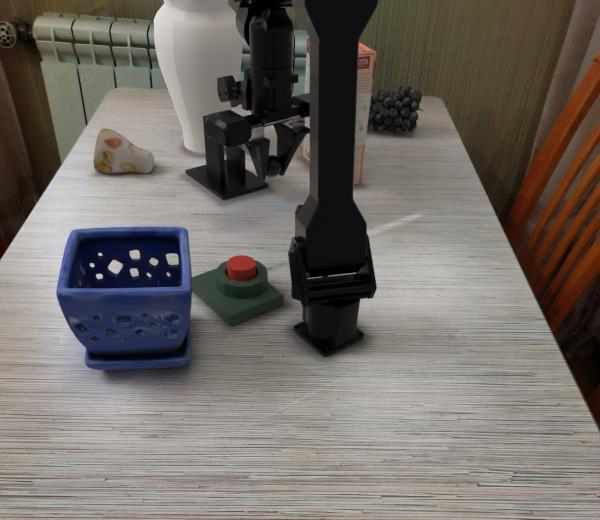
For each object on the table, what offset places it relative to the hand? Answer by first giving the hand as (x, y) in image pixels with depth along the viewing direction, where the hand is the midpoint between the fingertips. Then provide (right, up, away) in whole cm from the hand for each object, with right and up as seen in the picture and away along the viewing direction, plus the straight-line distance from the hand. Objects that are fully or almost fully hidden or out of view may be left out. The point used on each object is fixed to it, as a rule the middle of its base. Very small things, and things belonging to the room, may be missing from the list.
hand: (271, 177), depth 91 cm
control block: (-4, -20, -12) cm, 24 cm away
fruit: (+21, +21, +32) cm, 44 cm away
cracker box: (+10, +7, +16) cm, 20 cm away
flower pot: (-14, -27, -20) cm, 37 cm away
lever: (-4, +4, +3) cm, 7 cm away
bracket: (-8, +3, +11) cm, 14 cm away
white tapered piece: (-26, +6, +13) cm, 29 cm away
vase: (-13, +14, +22) cm, 29 cm away
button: (-3, -18, -14) cm, 23 cm away
